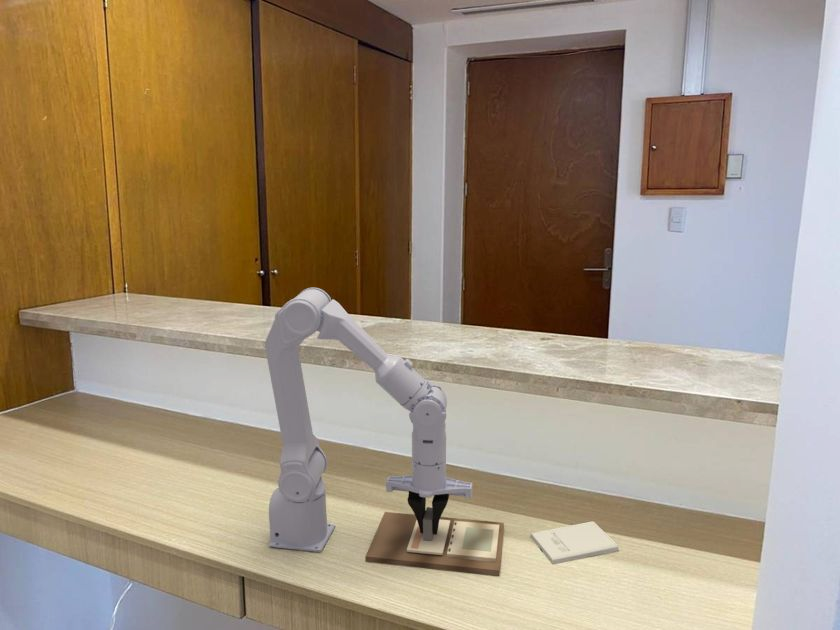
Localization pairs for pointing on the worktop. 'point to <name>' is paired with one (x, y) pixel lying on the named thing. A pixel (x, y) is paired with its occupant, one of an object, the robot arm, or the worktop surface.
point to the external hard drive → (573, 542)
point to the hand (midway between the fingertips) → (429, 530)
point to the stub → (429, 536)
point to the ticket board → (464, 549)
